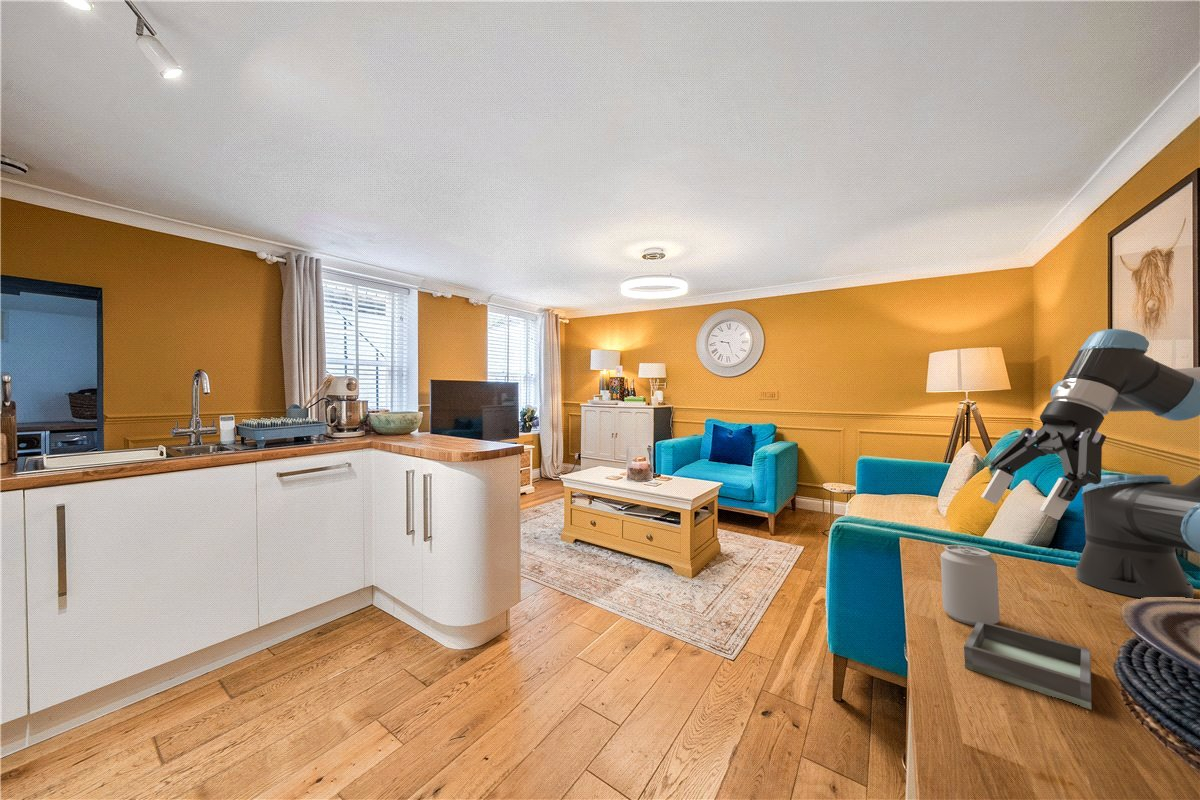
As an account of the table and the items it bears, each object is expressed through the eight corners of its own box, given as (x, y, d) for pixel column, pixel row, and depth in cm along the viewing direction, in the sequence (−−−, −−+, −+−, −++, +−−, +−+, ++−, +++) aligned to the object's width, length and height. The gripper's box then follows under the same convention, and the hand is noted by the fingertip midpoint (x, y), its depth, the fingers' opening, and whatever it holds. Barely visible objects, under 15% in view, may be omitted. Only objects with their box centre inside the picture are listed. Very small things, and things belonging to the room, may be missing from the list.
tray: (979, 639, 67) (978, 620, 67) (1091, 671, 59) (1089, 649, 59) (965, 667, 60) (964, 645, 60) (1091, 709, 51) (1090, 683, 51)
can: (961, 627, 71) (958, 554, 72) (933, 608, 79) (930, 542, 79) (1012, 630, 70) (1008, 556, 71) (978, 610, 78) (975, 543, 78)
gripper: (1002, 402, 92) (951, 486, 92) (1128, 393, 67) (1057, 509, 68) (1038, 419, 91) (986, 505, 91) (1178, 417, 66) (1106, 535, 67)
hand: (1016, 507), depth 79 cm, fingers open, 13 cm apart
